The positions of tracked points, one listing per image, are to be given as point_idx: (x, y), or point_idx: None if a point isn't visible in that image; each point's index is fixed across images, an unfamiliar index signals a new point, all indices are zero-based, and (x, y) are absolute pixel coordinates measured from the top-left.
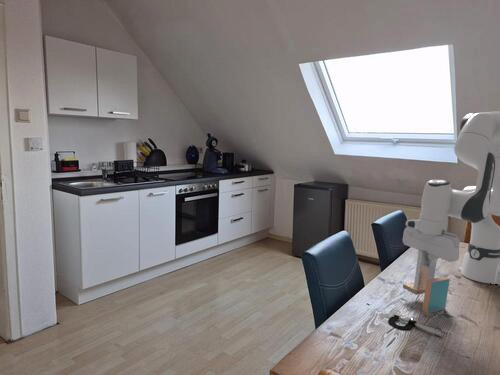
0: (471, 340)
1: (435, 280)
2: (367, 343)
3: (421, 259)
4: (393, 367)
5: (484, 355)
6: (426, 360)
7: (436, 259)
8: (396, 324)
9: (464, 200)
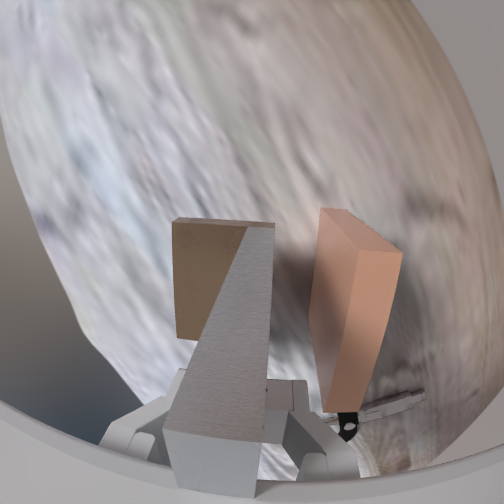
0: (475, 331)
1: (359, 376)
2: None
3: None
4: None
5: (499, 356)
6: (420, 456)
7: (340, 451)
8: None
9: None
